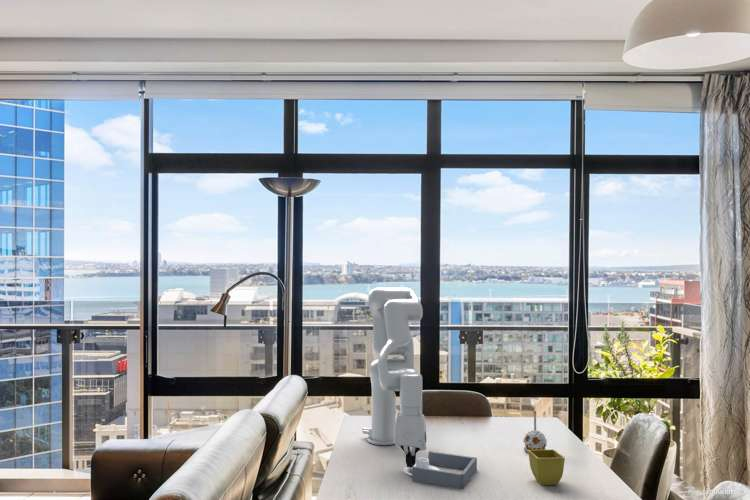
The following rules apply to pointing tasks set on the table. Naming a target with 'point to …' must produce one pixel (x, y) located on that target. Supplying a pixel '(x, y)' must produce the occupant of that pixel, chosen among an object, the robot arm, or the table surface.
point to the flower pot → (546, 466)
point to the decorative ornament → (534, 439)
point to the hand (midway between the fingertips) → (410, 466)
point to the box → (442, 476)
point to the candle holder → (420, 465)
